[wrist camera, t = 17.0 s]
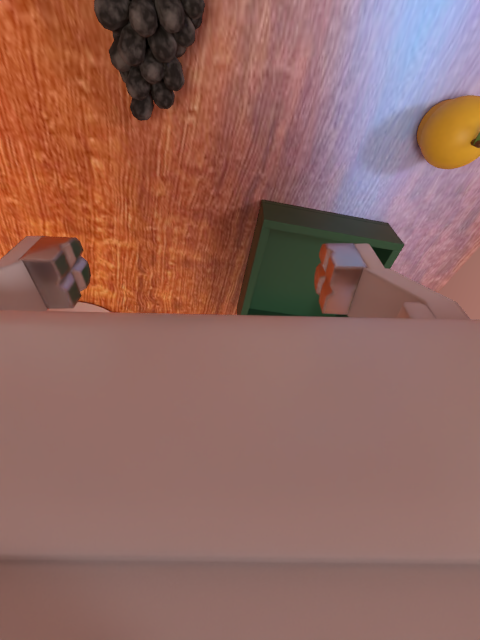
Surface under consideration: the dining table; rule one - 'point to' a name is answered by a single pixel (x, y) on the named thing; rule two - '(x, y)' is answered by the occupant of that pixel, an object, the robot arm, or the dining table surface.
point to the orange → (451, 132)
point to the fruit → (150, 46)
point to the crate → (301, 256)
